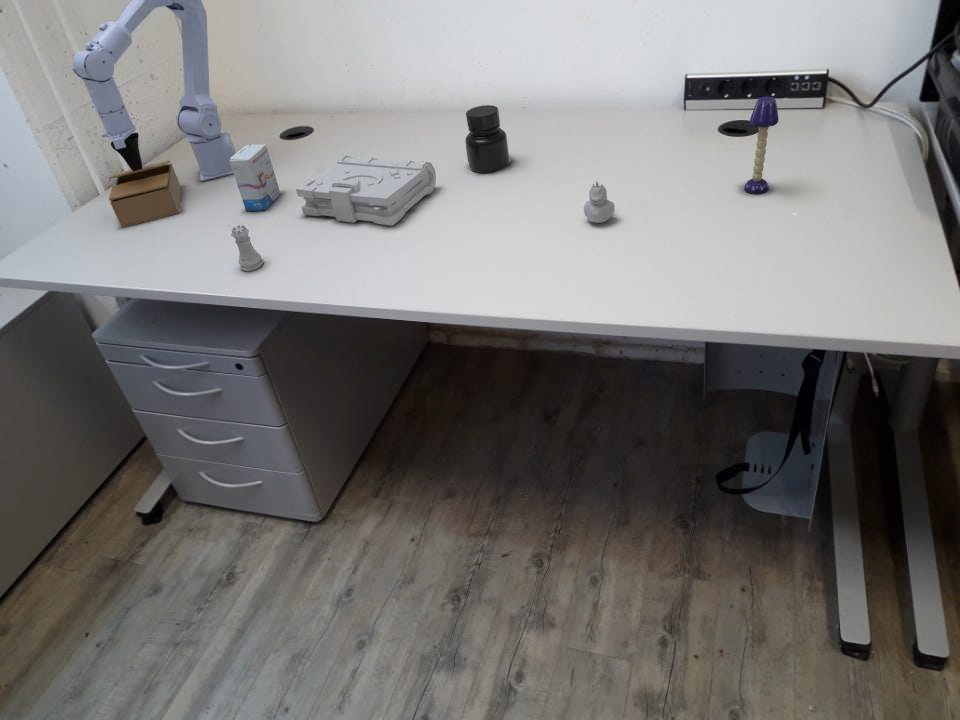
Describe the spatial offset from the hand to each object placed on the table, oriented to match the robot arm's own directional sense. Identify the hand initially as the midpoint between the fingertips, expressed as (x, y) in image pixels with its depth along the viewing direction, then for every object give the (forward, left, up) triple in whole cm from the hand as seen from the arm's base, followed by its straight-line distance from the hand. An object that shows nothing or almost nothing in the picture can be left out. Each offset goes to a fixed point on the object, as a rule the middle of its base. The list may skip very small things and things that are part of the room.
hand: (137, 169), depth 169 cm
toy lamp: (-113, +67, -9) cm, 132 cm away
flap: (0, -3, -1) cm, 3 cm away
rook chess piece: (-21, +44, -9) cm, 50 cm away
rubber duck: (-84, +62, -9) cm, 105 cm away
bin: (0, +1, -9) cm, 9 cm away
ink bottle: (-74, +26, -9) cm, 79 cm away
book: (-45, +28, -9) cm, 54 cm away
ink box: (-25, +15, -9) cm, 31 cm away
